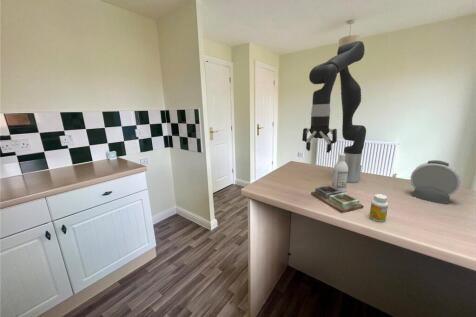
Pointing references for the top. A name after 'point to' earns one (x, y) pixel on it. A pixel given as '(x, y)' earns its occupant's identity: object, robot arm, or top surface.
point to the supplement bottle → (379, 208)
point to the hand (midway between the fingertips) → (318, 151)
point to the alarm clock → (435, 181)
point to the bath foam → (340, 174)
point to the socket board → (337, 199)
